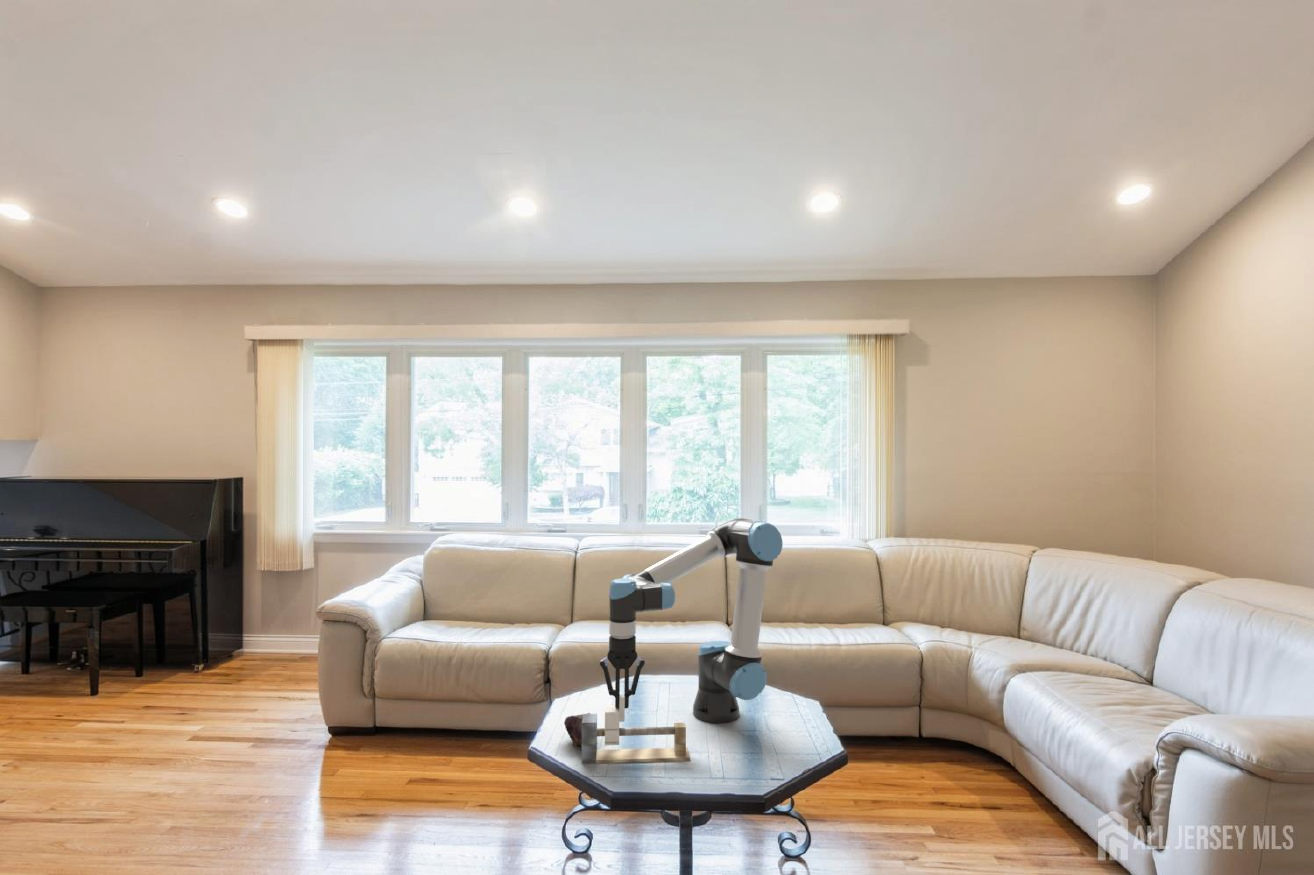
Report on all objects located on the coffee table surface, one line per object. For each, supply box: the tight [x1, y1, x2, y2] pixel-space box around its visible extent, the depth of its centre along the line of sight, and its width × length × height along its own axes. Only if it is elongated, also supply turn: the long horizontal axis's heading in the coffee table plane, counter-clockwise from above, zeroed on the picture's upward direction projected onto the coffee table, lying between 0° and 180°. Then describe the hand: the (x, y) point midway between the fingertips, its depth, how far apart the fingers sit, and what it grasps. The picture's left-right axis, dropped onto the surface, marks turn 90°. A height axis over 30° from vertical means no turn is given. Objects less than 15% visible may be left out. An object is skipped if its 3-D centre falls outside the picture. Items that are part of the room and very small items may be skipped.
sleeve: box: [604, 704, 620, 746], centre depth 175 cm, size 4×5×9 cm
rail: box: [581, 713, 691, 764], centre depth 175 cm, size 30×6×11 cm, turn 94°
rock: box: [563, 712, 591, 747], centre depth 184 cm, size 12×9×10 cm
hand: (621, 719), depth 175 cm, fingers closed
